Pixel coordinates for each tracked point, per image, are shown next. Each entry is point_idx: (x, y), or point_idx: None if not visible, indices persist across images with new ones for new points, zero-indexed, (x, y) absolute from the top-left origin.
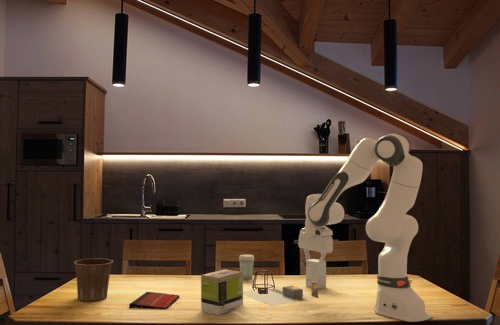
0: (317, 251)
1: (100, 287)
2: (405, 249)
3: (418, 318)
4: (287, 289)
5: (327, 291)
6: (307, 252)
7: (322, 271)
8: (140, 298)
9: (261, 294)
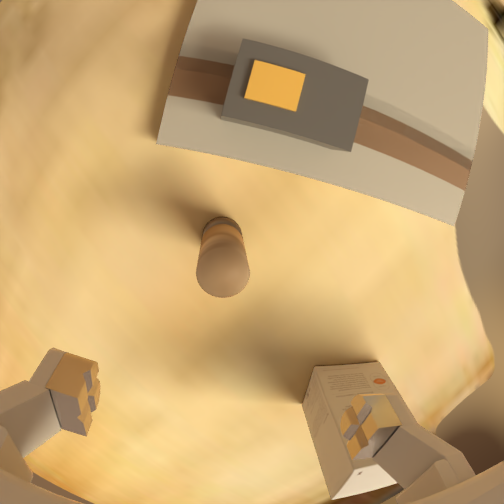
0: (34, 487)
1: None
2: None
3: None
4: (313, 59)
5: (256, 368)
6: (407, 468)
7: (325, 446)
8: None
9: (418, 33)
